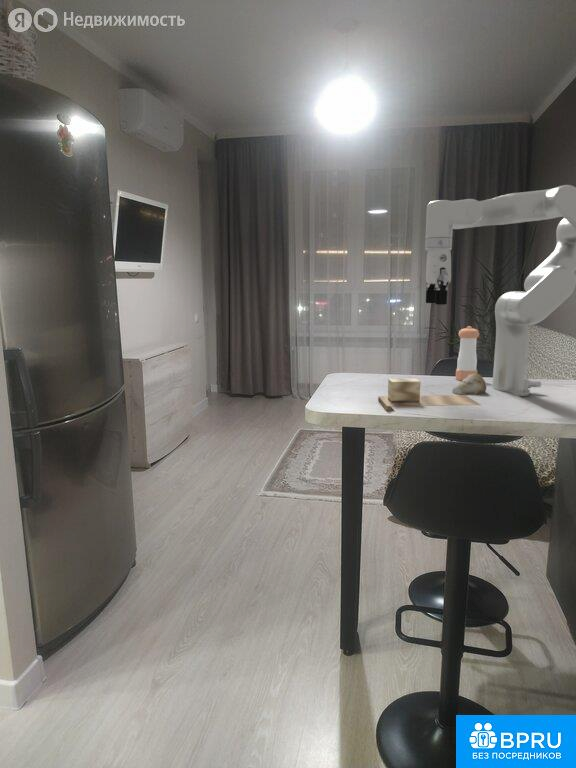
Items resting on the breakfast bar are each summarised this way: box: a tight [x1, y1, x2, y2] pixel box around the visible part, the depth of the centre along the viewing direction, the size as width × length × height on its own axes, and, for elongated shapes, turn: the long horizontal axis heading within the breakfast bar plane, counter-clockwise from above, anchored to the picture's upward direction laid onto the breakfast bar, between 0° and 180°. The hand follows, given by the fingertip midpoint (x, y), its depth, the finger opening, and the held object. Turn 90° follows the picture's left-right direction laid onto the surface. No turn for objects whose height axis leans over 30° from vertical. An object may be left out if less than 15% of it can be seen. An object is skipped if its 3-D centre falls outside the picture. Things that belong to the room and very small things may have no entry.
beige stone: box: [451, 373, 487, 395], centre depth 157 cm, size 8×10×10 cm
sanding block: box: [387, 377, 421, 403], centre depth 146 cm, size 8×4×6 cm, turn 91°
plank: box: [377, 394, 481, 412], centre depth 147 cm, size 26×12×2 cm, turn 91°
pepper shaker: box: [455, 325, 480, 382], centre depth 183 cm, size 7×7×19 cm
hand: (435, 303), depth 154 cm, fingers open, 9 cm apart
